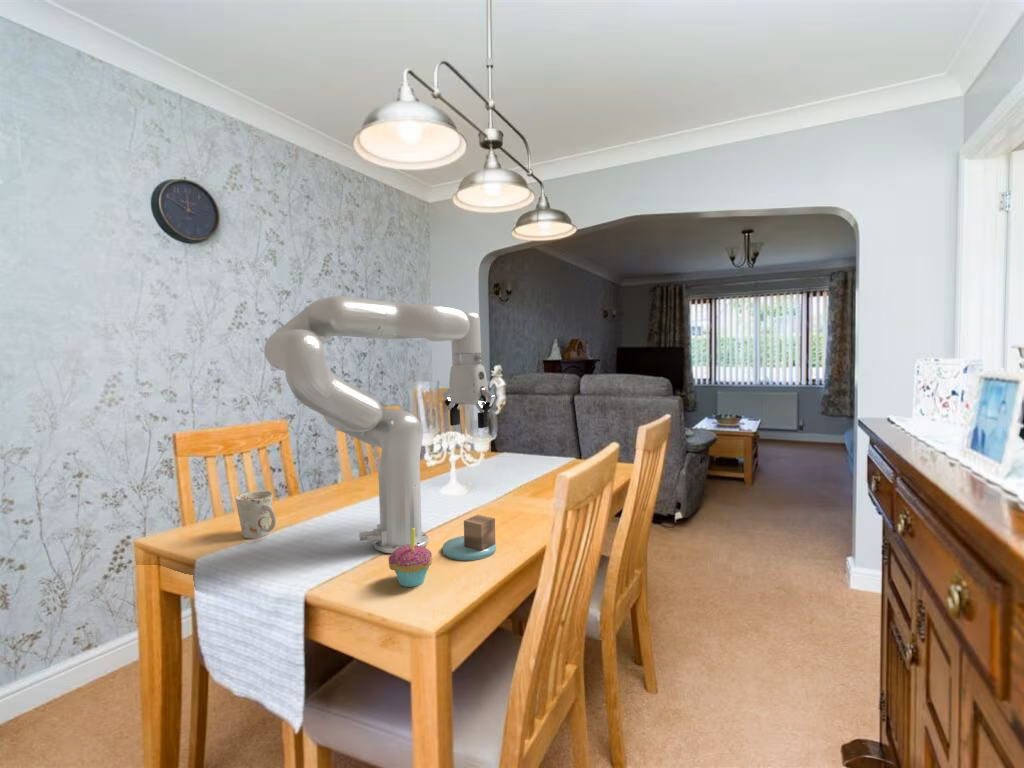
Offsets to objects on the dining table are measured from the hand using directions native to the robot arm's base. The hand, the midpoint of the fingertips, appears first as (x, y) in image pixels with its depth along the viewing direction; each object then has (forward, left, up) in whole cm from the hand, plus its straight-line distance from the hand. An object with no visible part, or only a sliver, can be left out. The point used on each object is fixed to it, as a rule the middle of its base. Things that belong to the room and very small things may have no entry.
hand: (468, 426), depth 133 cm
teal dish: (-7, -17, -26) cm, 32 cm away
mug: (-50, +16, -26) cm, 58 cm away
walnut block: (-5, -19, -25) cm, 31 cm away
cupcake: (-23, -27, -26) cm, 44 cm away
